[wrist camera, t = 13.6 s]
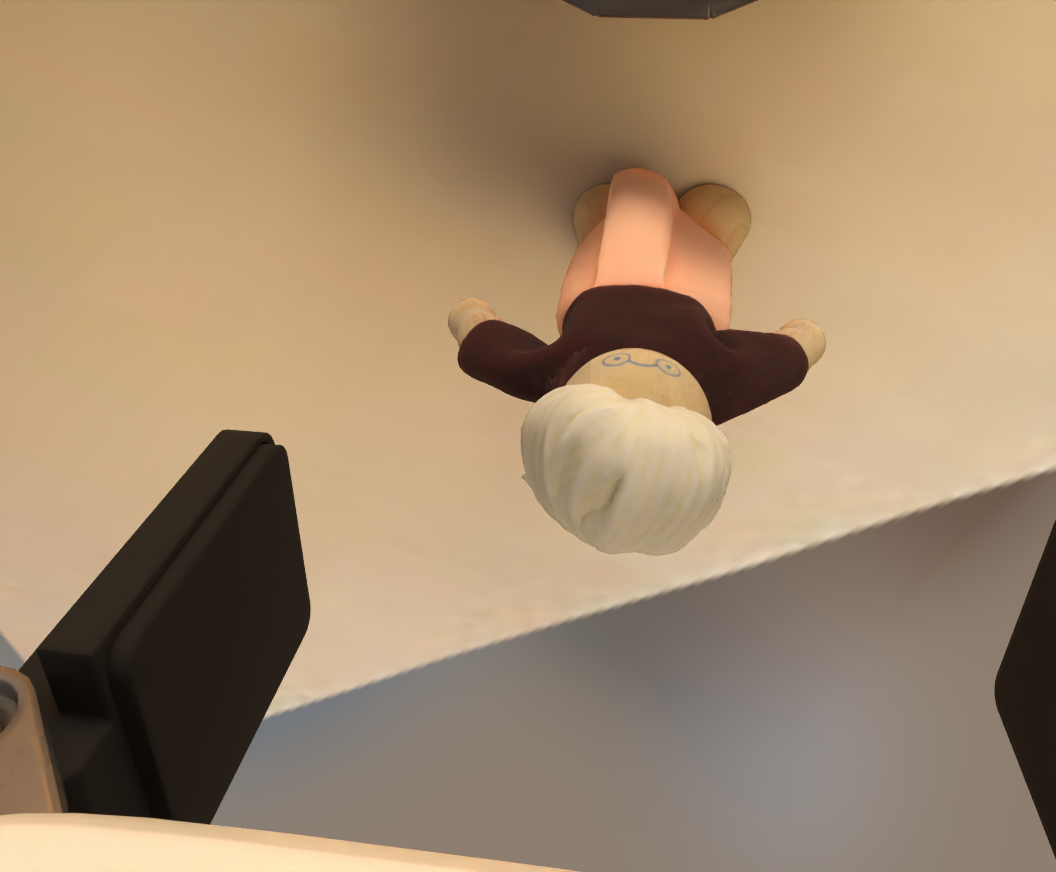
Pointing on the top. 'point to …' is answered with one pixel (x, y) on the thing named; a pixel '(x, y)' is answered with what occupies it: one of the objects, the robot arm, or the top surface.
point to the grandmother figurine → (638, 366)
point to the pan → (659, 8)
